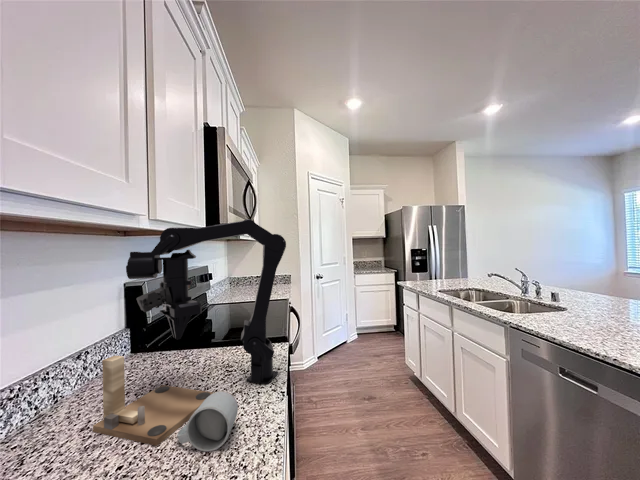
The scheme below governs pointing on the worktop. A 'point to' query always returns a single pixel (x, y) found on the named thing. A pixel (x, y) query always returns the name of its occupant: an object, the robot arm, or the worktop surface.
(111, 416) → the stool seat
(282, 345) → the worktop surface
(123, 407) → the hinged leg
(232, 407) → the ceramic mug
